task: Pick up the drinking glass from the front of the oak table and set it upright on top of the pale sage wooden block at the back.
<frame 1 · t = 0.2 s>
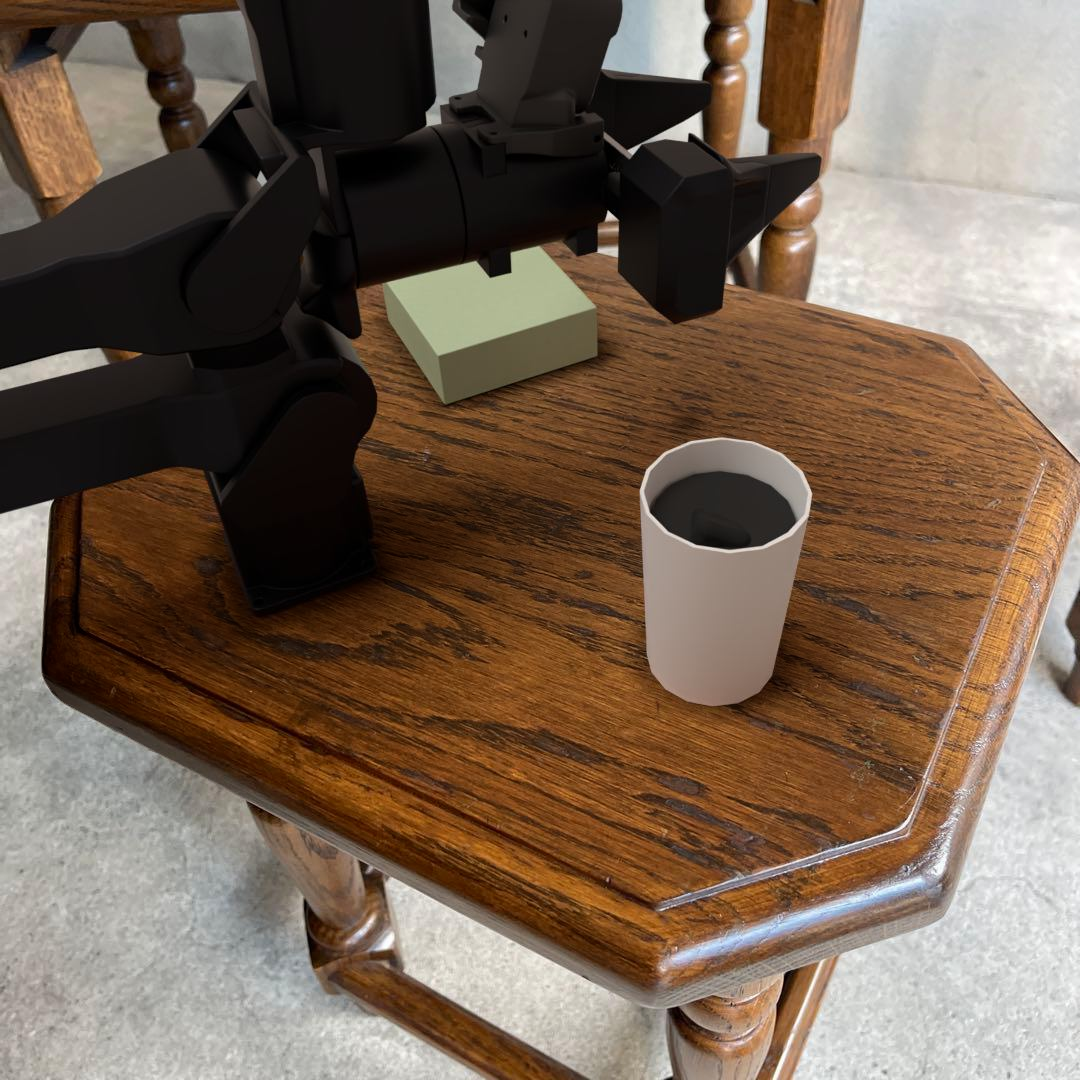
hand: (761, 127, 51), 17 cm above the table, tool horizontal, fingers open, 9 cm apart
riser block: (490, 338, 69), on the table
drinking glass: (710, 657, 50), on the table
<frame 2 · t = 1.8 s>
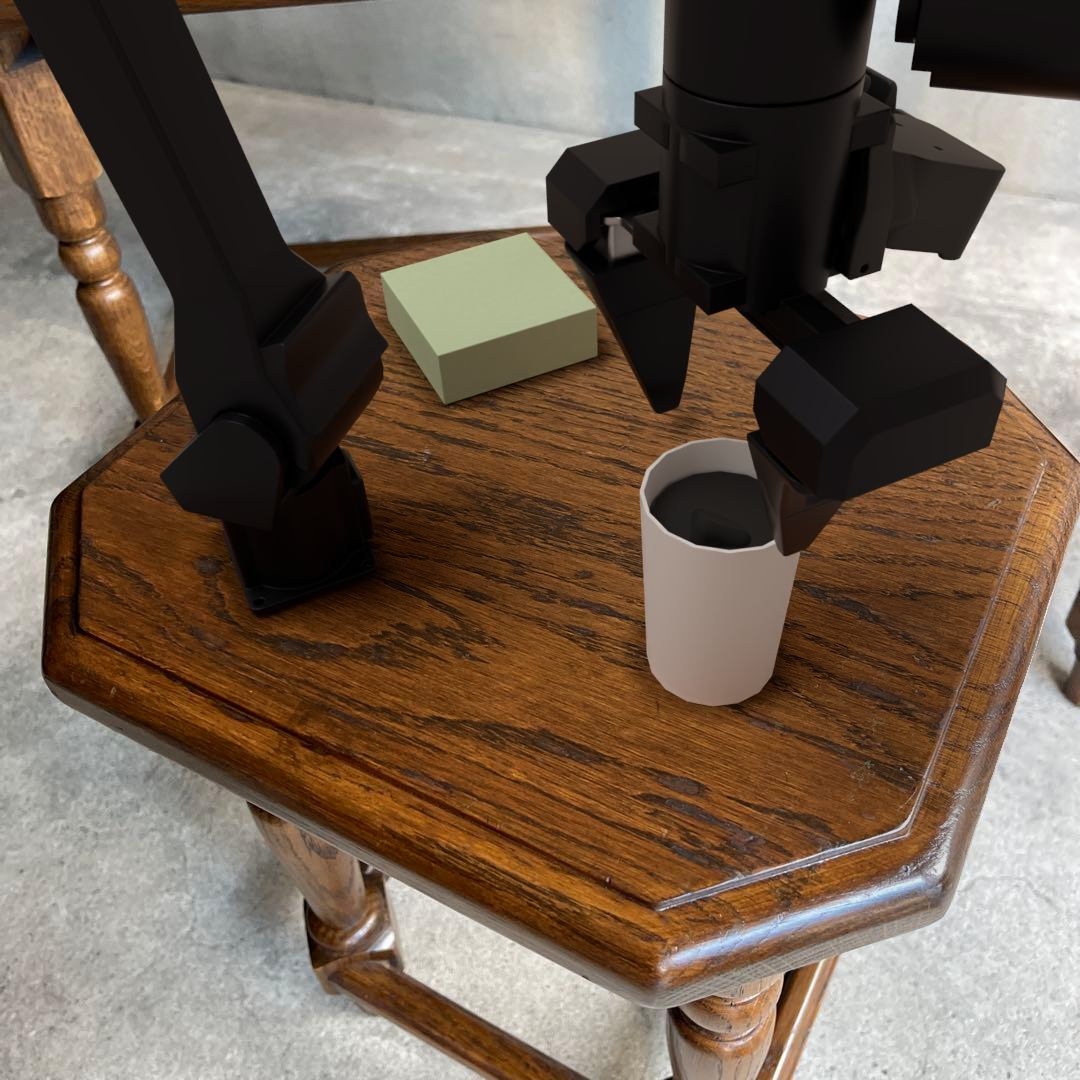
hand: (725, 474, 42), 11 cm above the table, tool pointing down, fingers open, 9 cm apart
nothing on the table moved.
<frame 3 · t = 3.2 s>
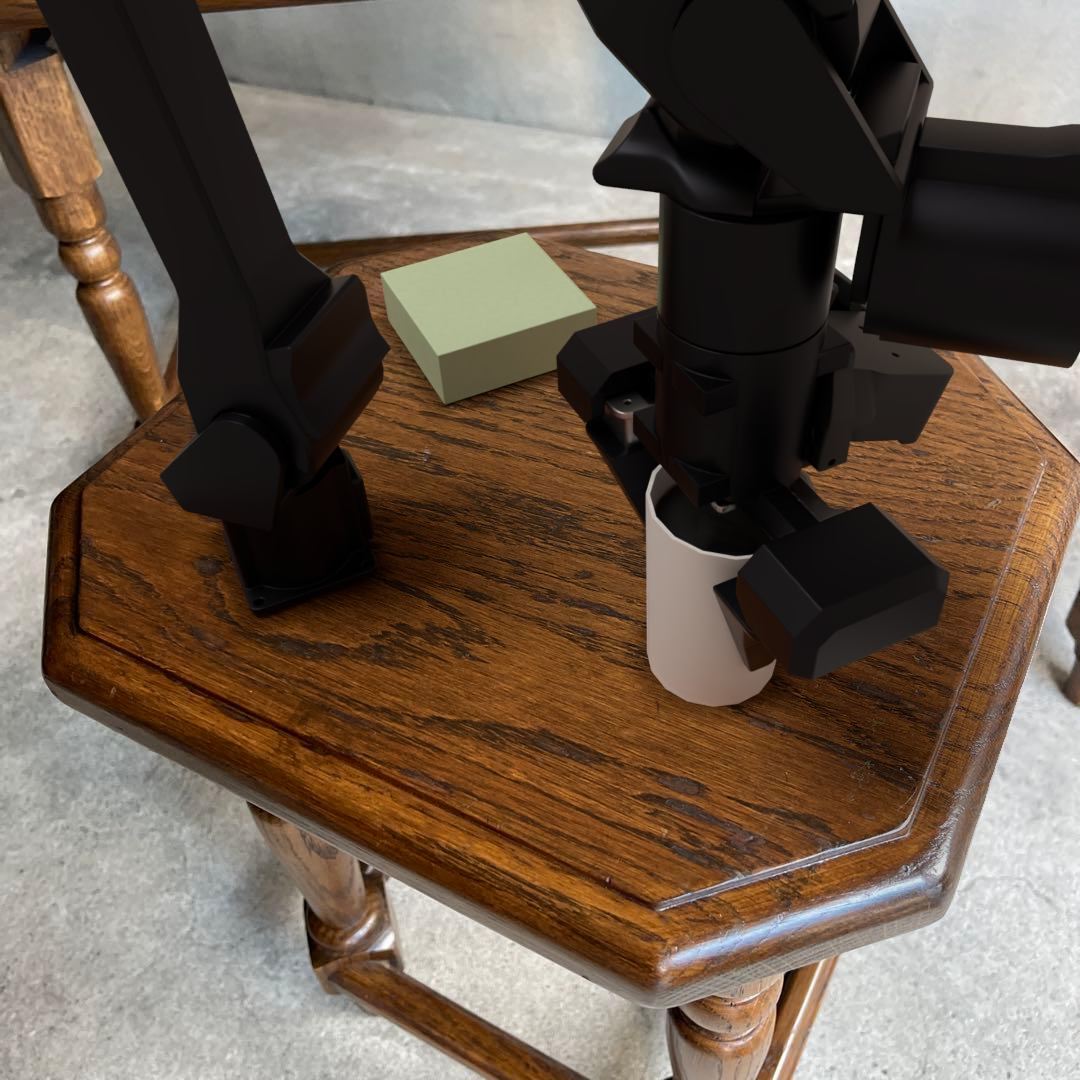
hand: (716, 611, 48), 3 cm above the table, tool pointing down, fingers closed on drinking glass, 6 cm apart
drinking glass: (710, 656, 50), on the table, touching gripper
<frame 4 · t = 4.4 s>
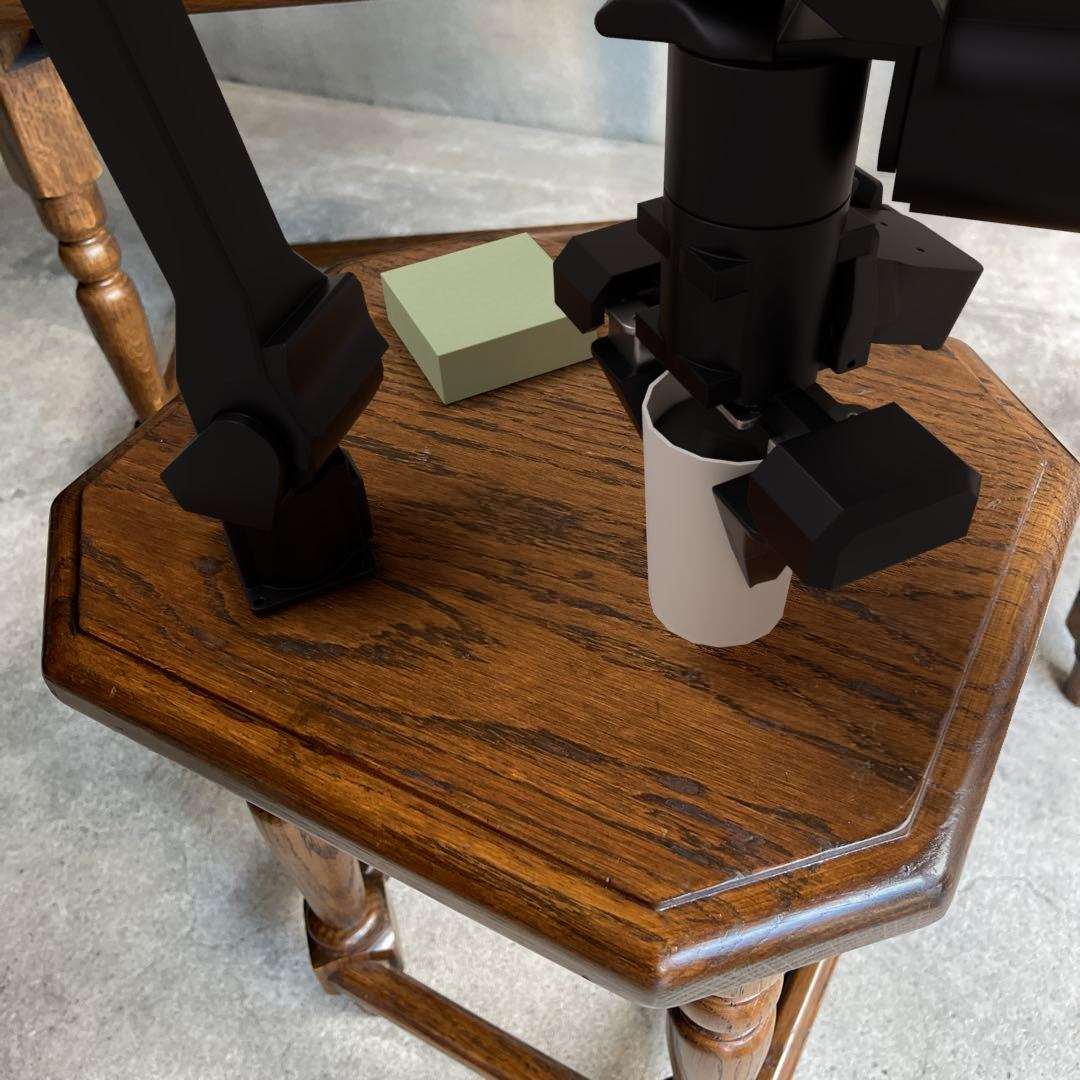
hand: (722, 541, 45), 7 cm above the table, tool pointing down, fingers closed on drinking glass, 5 cm apart
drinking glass: (716, 598, 47), point 4 cm above the table, touching gripper
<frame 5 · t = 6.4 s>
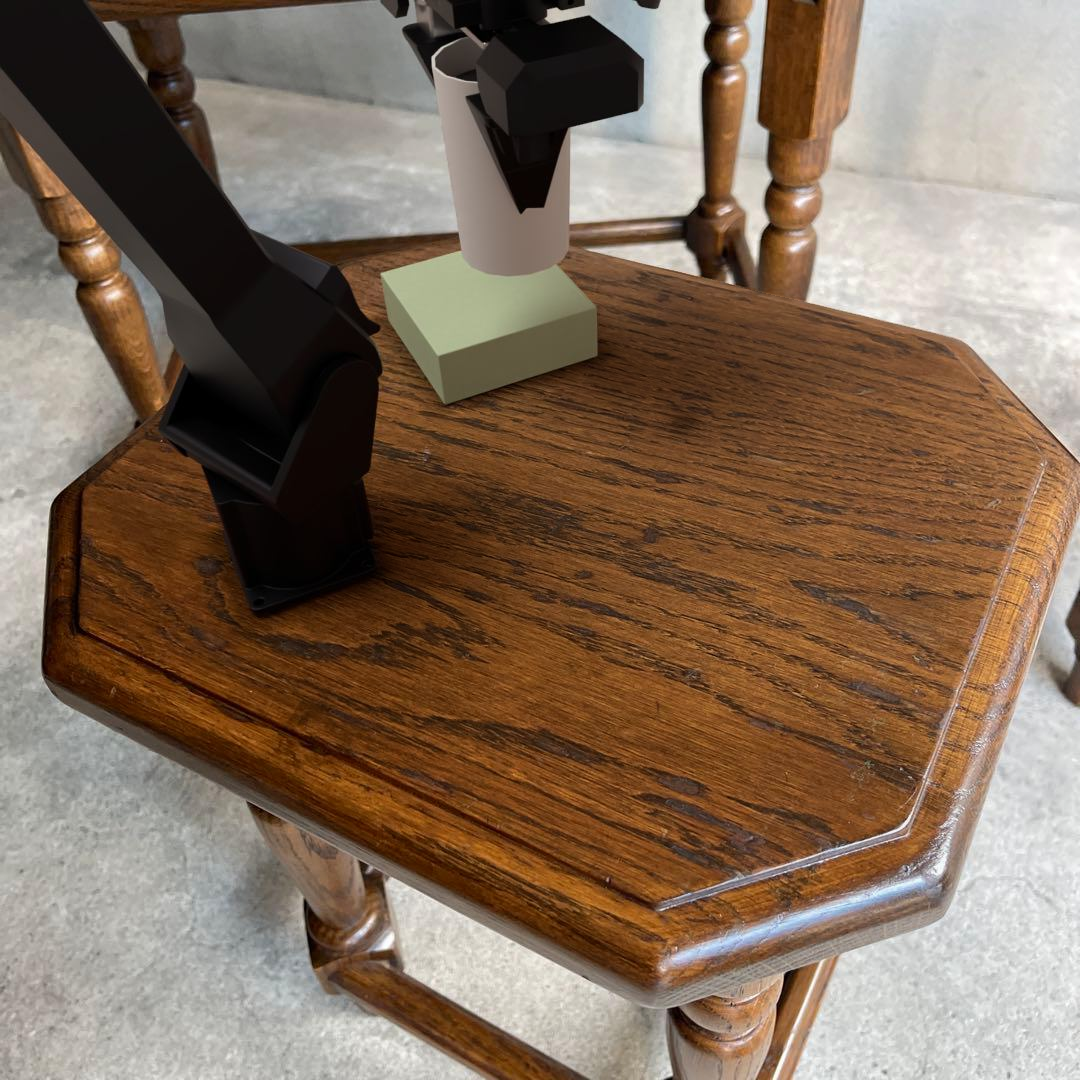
hand: (510, 193, 57), 12 cm above the table, tool pointing down, fingers closed on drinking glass, 5 cm apart
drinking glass: (515, 251, 59), point 9 cm above the table, touching gripper
when the fingers open (7 cm above the table, at t = 8.8 s): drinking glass stays where it is, resting on riser block.
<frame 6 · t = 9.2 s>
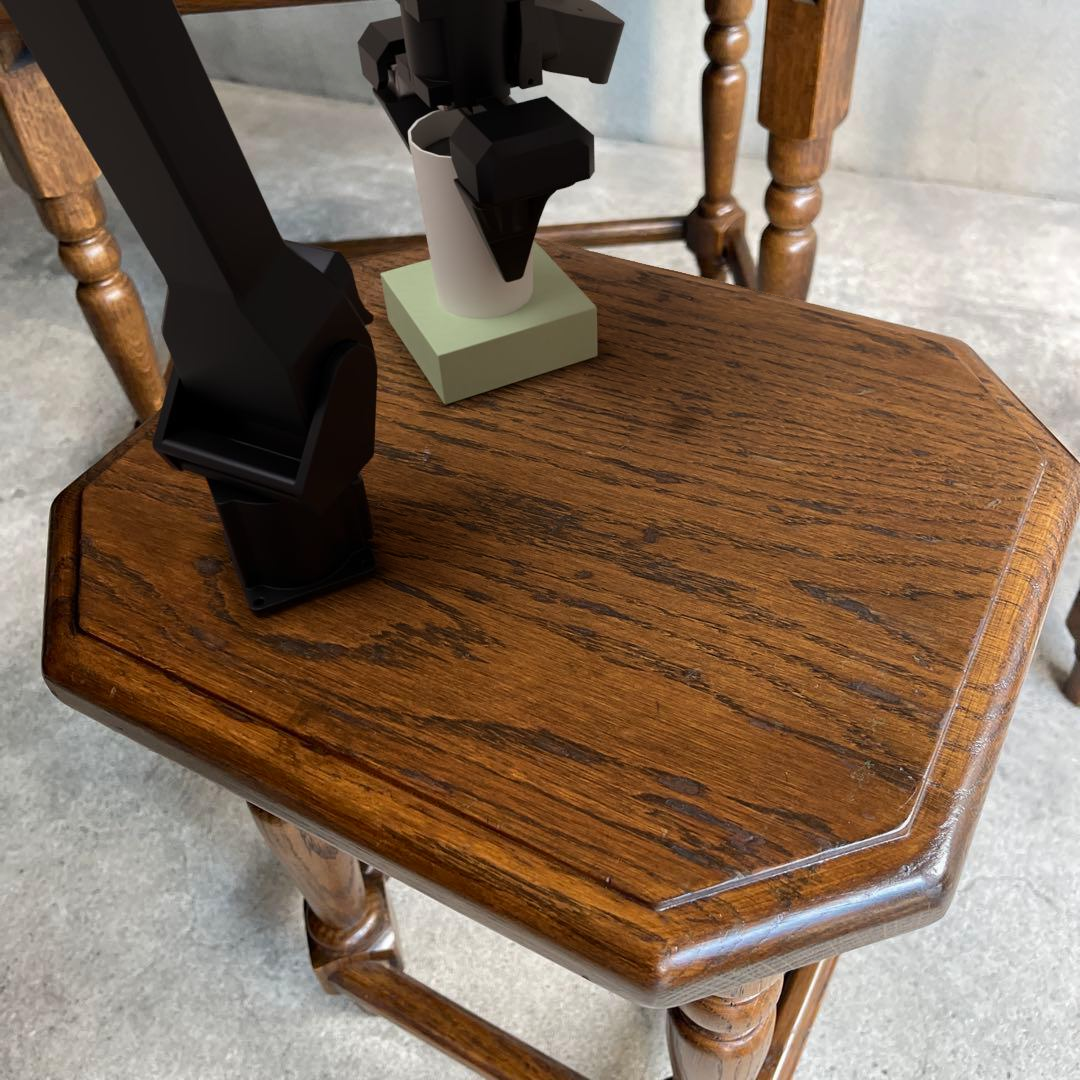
hand: (481, 242, 64), 7 cm above the table, tool pointing down, fingers open, 9 cm apart
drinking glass: (485, 294, 66), point 3 cm above the table, touching riser block
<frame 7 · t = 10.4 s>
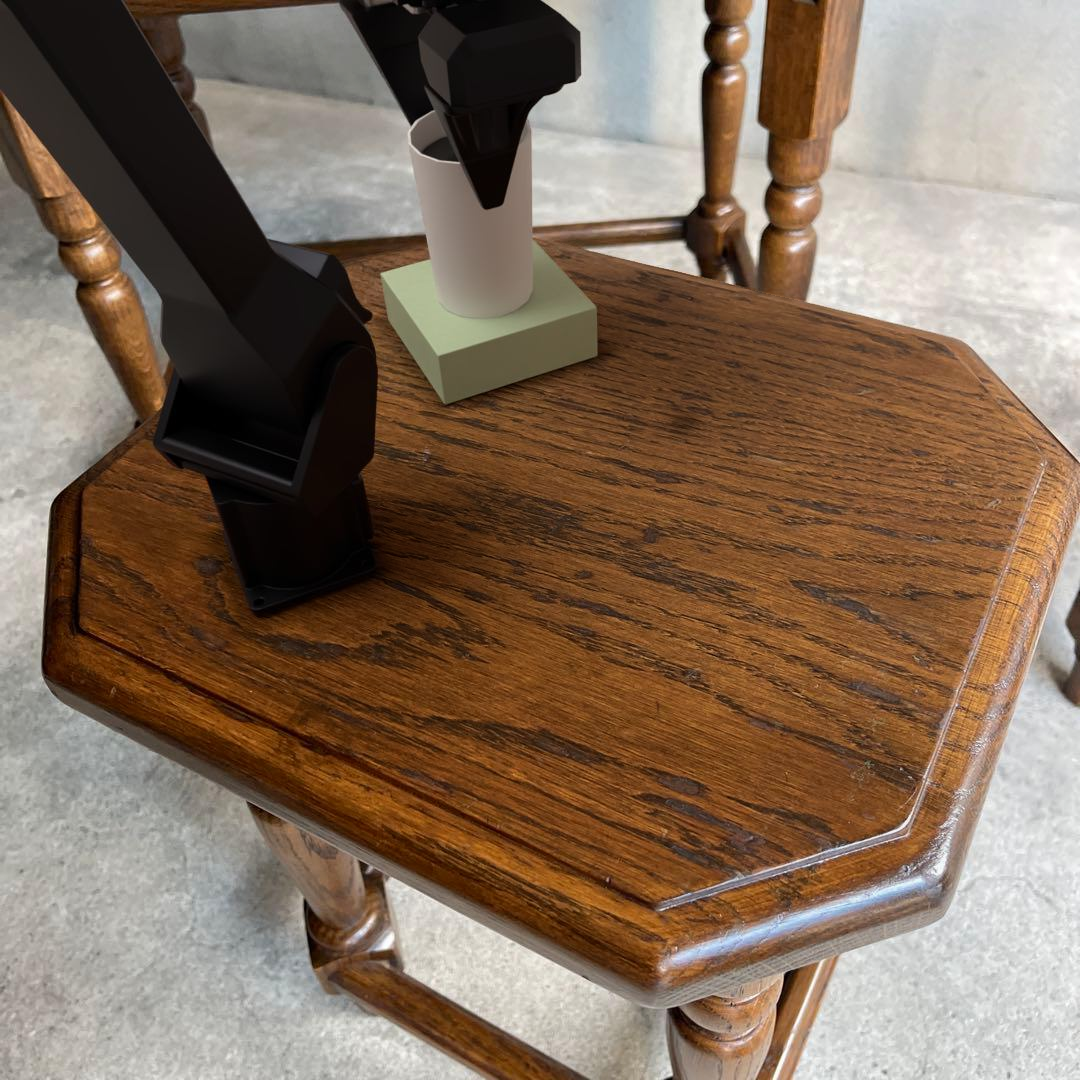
hand: (458, 170, 58), 12 cm above the table, tool pointing down, fingers open, 9 cm apart
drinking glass: (485, 292, 66), point 3 cm above the table, touching gripper, riser block
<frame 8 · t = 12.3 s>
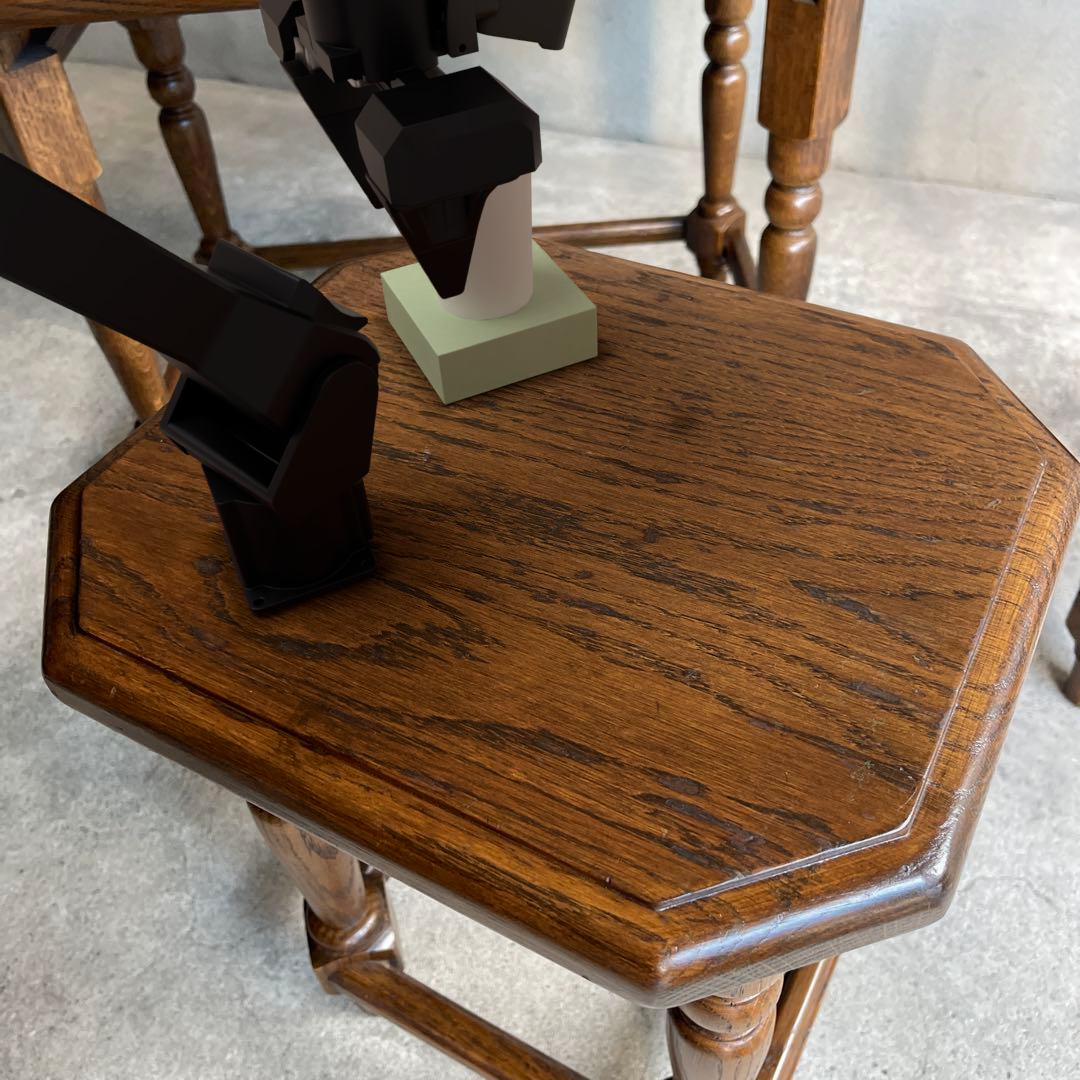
hand: (416, 248, 52), 13 cm above the table, tool pointing down, fingers open, 9 cm apart
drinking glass: (485, 295, 66), point 3 cm above the table, touching riser block
at the end: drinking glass 0.4 cm off-centre on the riser block, point 3.3 cm above the riser block's base; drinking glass tilted 0°; the gripper is holding nothing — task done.
